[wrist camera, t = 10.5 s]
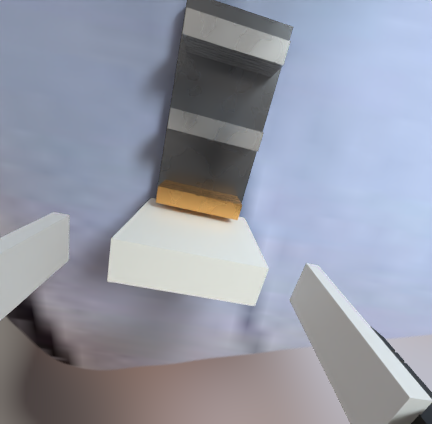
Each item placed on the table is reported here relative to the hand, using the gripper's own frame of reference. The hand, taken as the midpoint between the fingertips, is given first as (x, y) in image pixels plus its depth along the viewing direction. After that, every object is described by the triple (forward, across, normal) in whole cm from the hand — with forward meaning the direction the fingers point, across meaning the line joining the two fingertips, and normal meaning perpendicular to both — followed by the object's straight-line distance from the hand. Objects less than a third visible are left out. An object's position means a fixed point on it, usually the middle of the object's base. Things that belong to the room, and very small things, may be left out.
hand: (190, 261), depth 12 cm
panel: (+7, 0, 0) cm, 7 cm away
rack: (+8, 0, +4) cm, 9 cm away
